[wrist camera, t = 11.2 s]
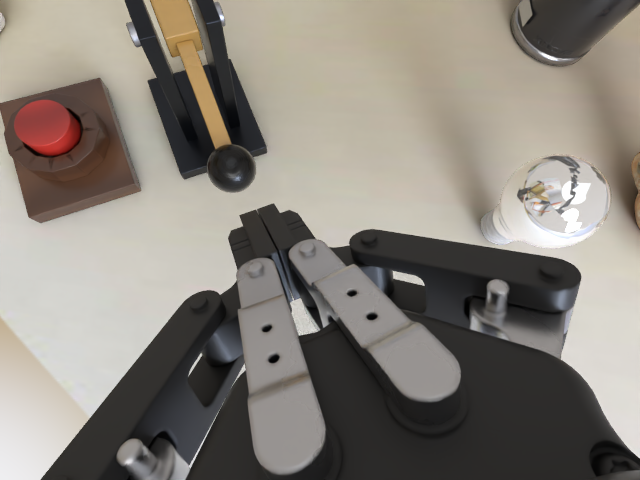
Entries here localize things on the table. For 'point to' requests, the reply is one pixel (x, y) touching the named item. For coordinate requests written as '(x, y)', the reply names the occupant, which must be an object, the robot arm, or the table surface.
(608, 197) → the light bulb
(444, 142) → the table surface
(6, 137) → the button block
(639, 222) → the oil lamp
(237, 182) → the lever
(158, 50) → the switch bracket
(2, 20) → the power adapter
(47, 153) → the button
